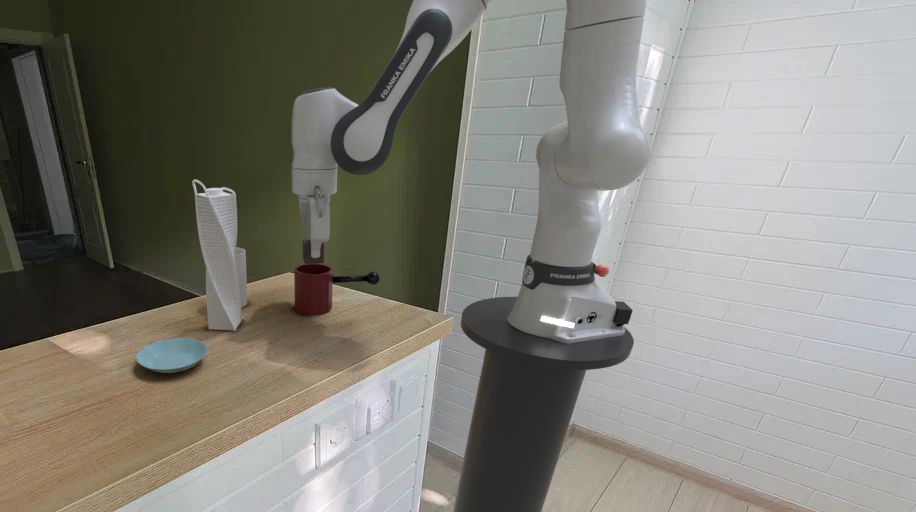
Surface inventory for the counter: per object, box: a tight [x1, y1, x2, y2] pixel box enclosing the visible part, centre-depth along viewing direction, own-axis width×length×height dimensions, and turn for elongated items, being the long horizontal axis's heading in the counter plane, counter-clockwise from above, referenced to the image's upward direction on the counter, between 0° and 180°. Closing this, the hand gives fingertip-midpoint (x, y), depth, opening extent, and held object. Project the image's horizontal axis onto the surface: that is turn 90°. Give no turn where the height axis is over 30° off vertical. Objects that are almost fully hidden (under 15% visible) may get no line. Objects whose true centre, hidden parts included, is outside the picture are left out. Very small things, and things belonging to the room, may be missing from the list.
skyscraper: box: [191, 178, 243, 332], centre depth 91 cm, size 8×8×28 cm
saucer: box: [135, 337, 208, 374], centre depth 83 cm, size 12×12×2 cm
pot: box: [293, 263, 381, 317], centre depth 104 cm, size 18×8×9 cm, turn 96°
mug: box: [234, 246, 248, 308], centre depth 104 cm, size 10×7×12 cm, turn 169°
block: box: [302, 239, 325, 264], centre depth 100 cm, size 4×4×4 cm
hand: (313, 253), depth 100 cm, fingers closed on block, 4 cm apart
